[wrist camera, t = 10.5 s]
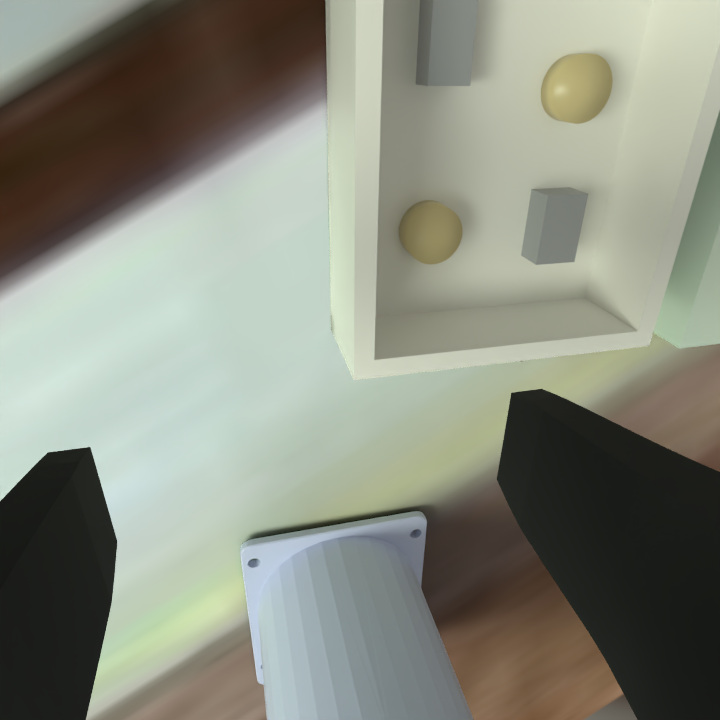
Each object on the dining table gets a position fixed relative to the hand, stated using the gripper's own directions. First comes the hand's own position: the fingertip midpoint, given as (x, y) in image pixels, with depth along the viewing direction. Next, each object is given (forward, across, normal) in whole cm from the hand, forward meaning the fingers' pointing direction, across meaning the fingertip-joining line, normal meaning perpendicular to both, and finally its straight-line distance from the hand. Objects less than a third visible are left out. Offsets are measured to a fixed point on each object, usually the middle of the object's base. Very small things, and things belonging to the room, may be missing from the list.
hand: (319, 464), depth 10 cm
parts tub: (+9, -7, -4) cm, 12 cm away
